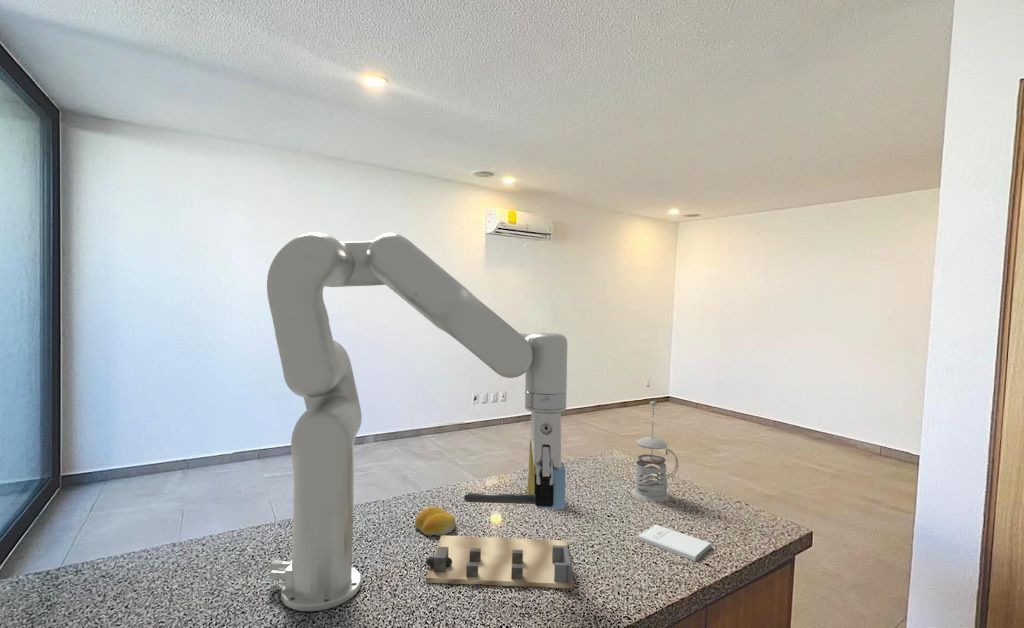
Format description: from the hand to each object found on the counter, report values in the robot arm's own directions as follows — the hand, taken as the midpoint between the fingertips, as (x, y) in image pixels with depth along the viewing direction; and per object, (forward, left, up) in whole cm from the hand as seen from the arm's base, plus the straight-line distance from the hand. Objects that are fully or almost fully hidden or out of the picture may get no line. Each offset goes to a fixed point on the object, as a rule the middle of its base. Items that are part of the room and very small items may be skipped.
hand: (543, 499), depth 89 cm
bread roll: (-23, +17, -14) cm, 32 cm away
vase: (+1, +38, -14) cm, 41 cm away
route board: (-7, +4, -14) cm, 16 cm away
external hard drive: (+29, +14, -15) cm, 35 cm away
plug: (-5, 0, -1) cm, 6 cm away
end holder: (+4, 0, -13) cm, 13 cm away
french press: (+32, +41, -14) cm, 54 cm away
